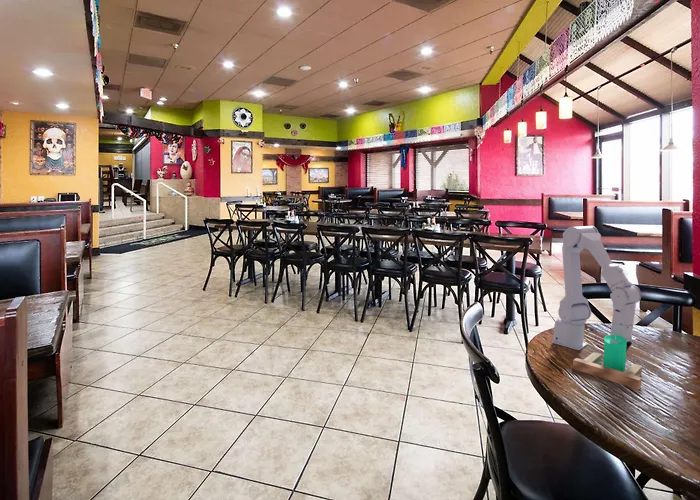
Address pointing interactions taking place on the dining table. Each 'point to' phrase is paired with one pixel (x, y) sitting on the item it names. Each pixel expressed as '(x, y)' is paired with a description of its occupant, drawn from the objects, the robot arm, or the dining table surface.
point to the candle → (615, 352)
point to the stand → (609, 371)
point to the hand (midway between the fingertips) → (618, 362)
